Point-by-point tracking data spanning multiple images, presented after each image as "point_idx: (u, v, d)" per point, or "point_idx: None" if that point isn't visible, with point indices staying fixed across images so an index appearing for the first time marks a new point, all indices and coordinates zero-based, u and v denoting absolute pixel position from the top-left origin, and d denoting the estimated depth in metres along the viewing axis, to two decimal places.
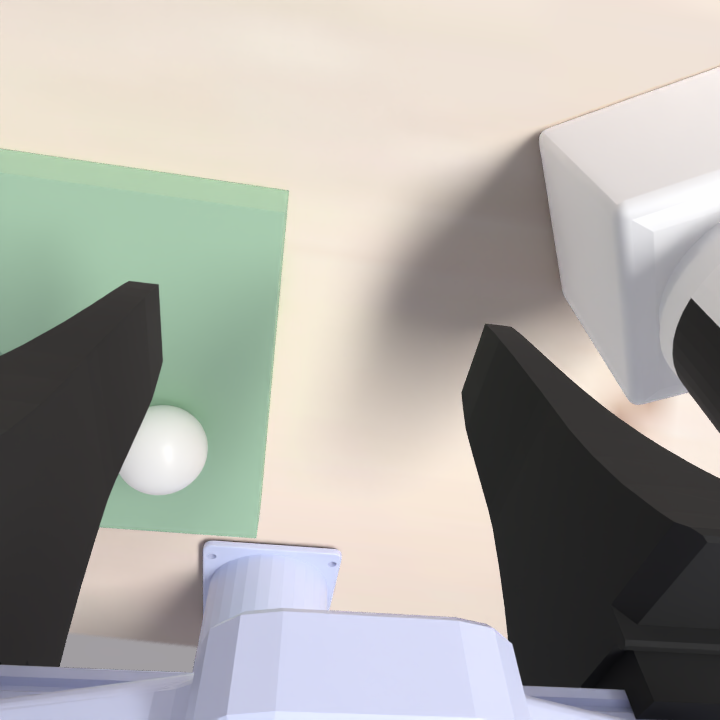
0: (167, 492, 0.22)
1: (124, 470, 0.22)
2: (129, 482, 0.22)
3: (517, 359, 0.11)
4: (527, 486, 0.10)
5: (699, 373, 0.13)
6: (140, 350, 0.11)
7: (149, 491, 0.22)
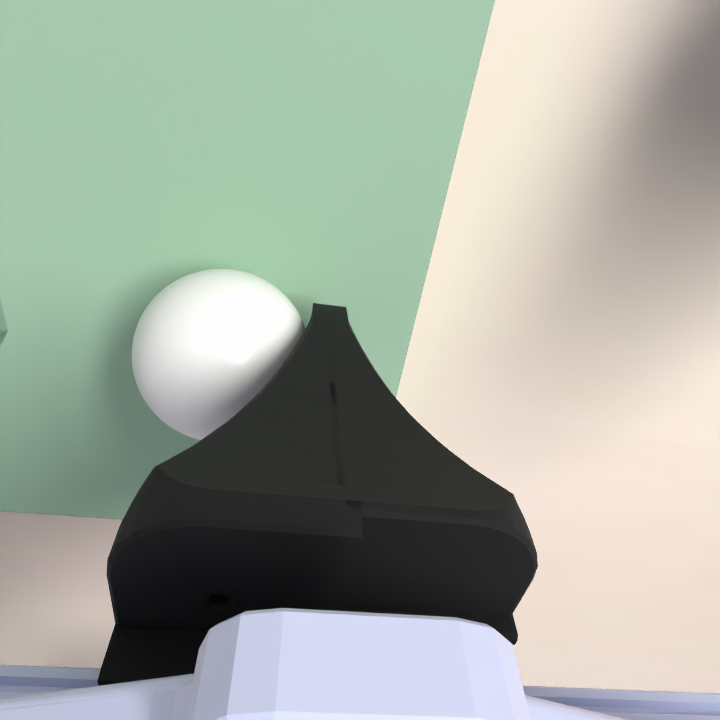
0: None
1: (147, 378, 0.11)
2: (156, 405, 0.11)
3: (318, 336, 0.10)
4: None
5: None
6: None
7: (193, 427, 0.11)
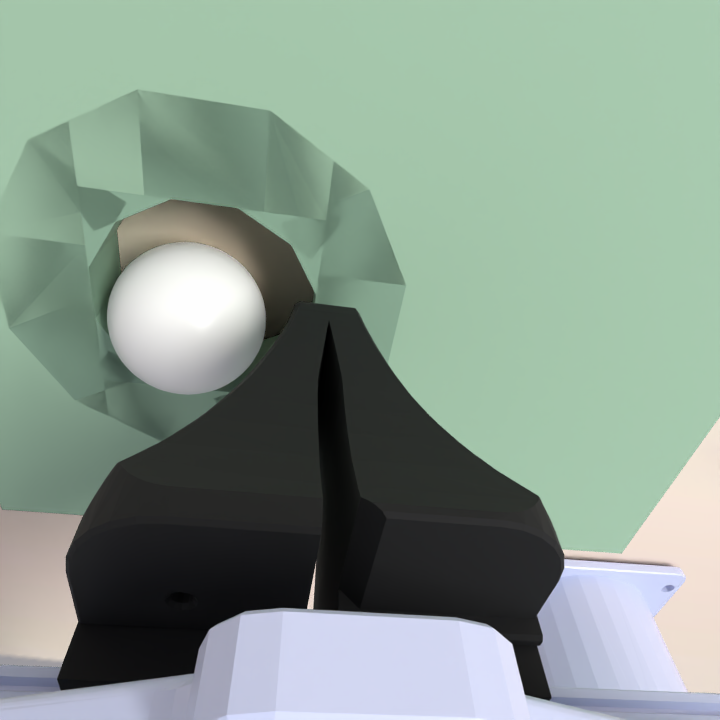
0: (223, 384, 0.13)
1: (149, 363, 0.12)
2: (159, 382, 0.13)
3: (335, 338, 0.10)
4: (329, 469, 0.10)
5: None
6: None
7: (197, 389, 0.13)
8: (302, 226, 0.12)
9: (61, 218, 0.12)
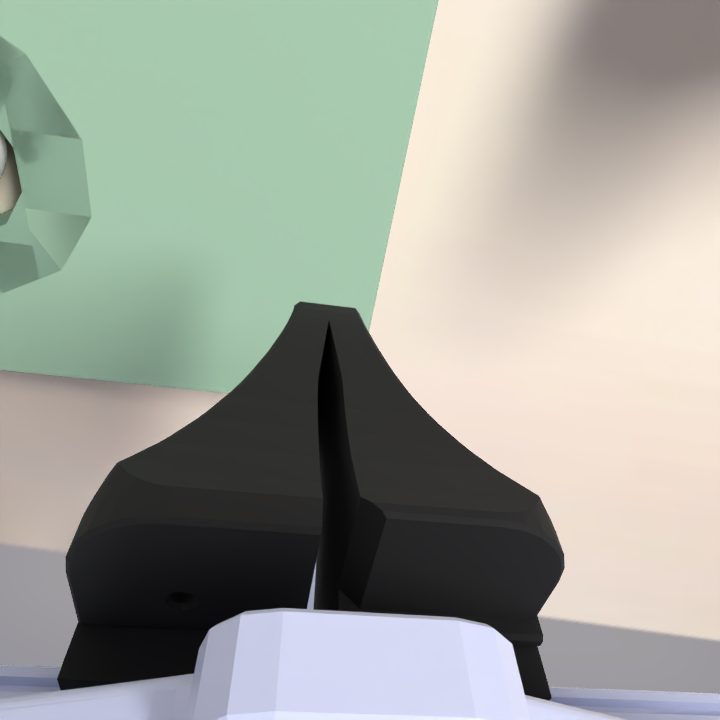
0: None
1: None
2: None
3: (335, 338, 0.10)
4: (330, 469, 0.10)
5: None
6: None
7: None
8: None
9: None
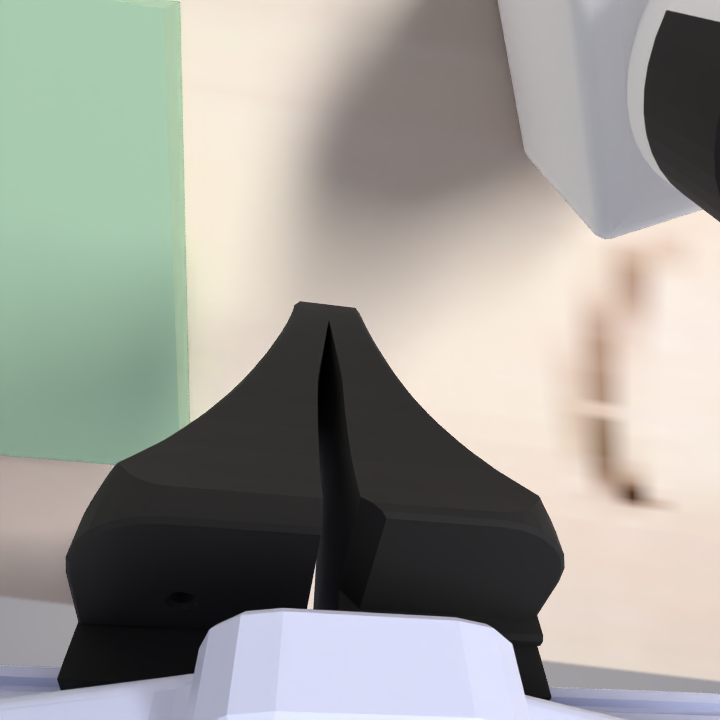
0: None
1: None
2: None
3: (335, 338, 0.10)
4: (330, 469, 0.10)
5: (679, 108, 0.09)
6: None
7: None
8: None
9: None
